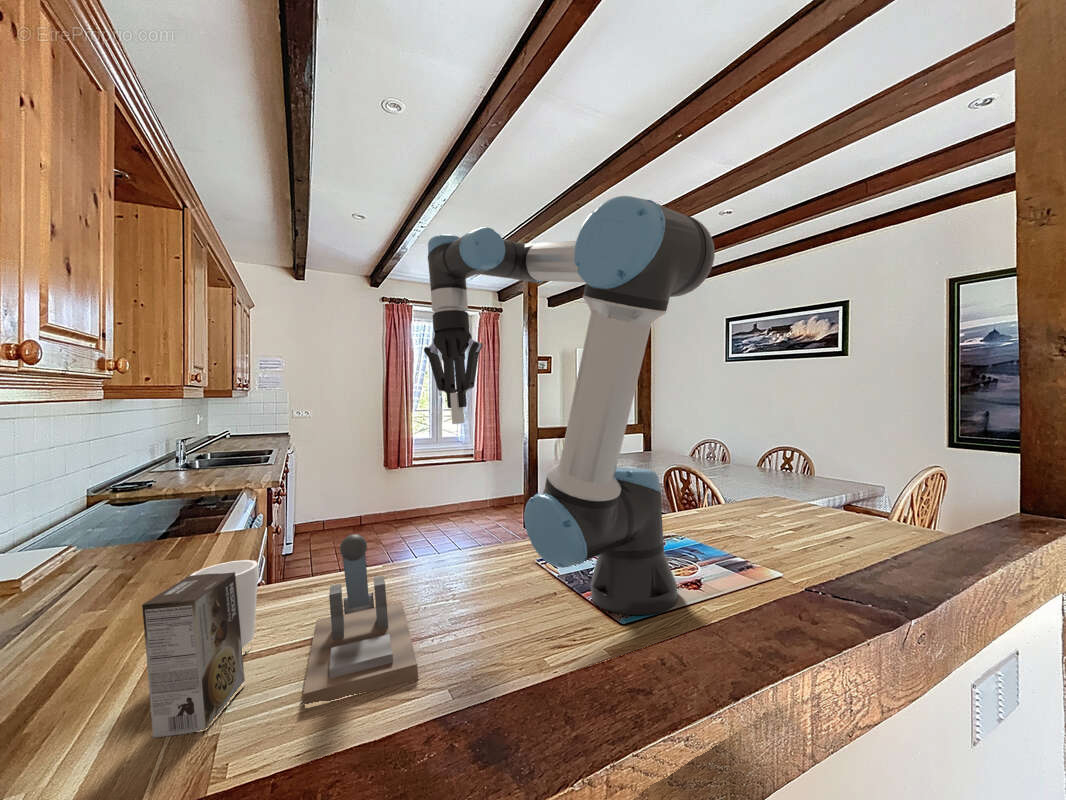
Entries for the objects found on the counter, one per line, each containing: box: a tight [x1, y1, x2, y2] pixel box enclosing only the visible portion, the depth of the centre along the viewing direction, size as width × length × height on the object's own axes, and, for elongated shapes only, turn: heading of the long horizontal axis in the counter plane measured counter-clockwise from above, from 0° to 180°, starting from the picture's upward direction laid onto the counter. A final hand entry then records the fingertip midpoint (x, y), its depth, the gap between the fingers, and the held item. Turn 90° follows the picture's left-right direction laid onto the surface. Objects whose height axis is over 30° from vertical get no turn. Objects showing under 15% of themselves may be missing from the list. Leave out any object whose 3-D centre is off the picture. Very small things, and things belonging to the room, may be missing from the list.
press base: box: [302, 575, 419, 705], centre depth 72 cm, size 22×14×9 cm, turn 21°
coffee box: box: [141, 572, 246, 738], centre depth 60 cm, size 9×6×16 cm
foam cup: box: [189, 559, 260, 647], centre depth 75 cm, size 10×9×13 cm
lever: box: [339, 533, 375, 614], centre depth 71 cm, size 4×4×18 cm
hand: (458, 423), depth 100 cm, fingers closed
